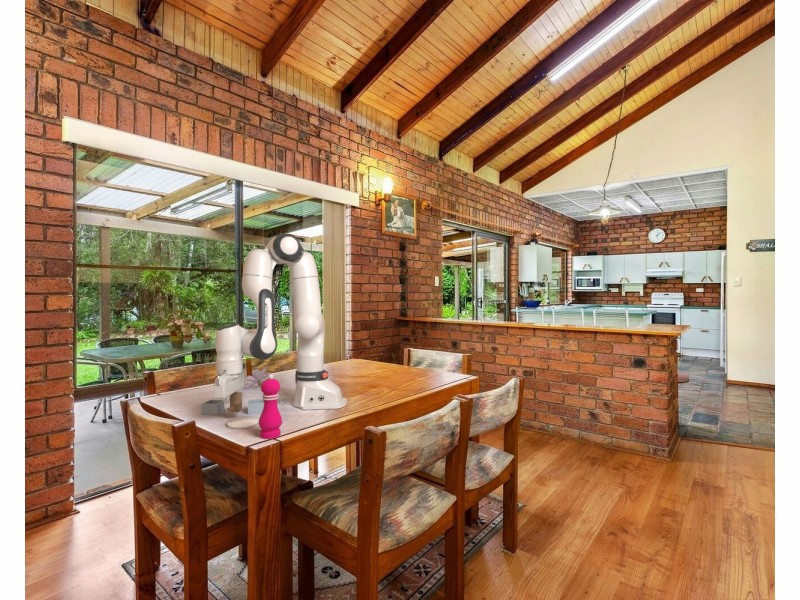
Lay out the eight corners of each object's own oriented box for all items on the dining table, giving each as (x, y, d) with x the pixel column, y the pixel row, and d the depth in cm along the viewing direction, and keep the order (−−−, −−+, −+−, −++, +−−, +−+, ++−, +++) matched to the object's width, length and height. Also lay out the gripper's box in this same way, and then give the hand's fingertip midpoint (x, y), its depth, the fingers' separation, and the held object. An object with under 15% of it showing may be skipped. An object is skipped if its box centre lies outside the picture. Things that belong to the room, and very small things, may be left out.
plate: (262, 419, 149) (262, 416, 149) (251, 428, 139) (251, 425, 139) (234, 419, 150) (234, 415, 150) (221, 428, 139) (221, 424, 139)
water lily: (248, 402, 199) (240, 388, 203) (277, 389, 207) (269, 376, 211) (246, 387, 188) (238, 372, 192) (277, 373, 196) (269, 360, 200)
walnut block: (242, 409, 153) (241, 392, 153) (238, 412, 149) (237, 394, 149) (231, 409, 153) (230, 392, 153) (227, 412, 149) (226, 395, 149)
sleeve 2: (265, 408, 164) (265, 398, 164) (265, 412, 158) (265, 402, 158) (248, 409, 162) (248, 399, 162) (247, 414, 156) (247, 403, 156)
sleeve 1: (224, 410, 162) (224, 400, 161) (217, 414, 155) (217, 404, 155) (209, 409, 162) (209, 399, 162) (201, 414, 156) (201, 403, 155)
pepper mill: (266, 441, 127) (266, 377, 127) (254, 435, 132) (254, 374, 132) (286, 435, 133) (286, 374, 133) (274, 430, 138) (274, 371, 137)
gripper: (226, 373, 141) (228, 413, 141) (247, 363, 161) (248, 398, 161) (208, 374, 141) (209, 413, 141) (231, 363, 161) (232, 398, 161)
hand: (230, 405), depth 151 cm, fingers closed on walnut block, 4 cm apart
